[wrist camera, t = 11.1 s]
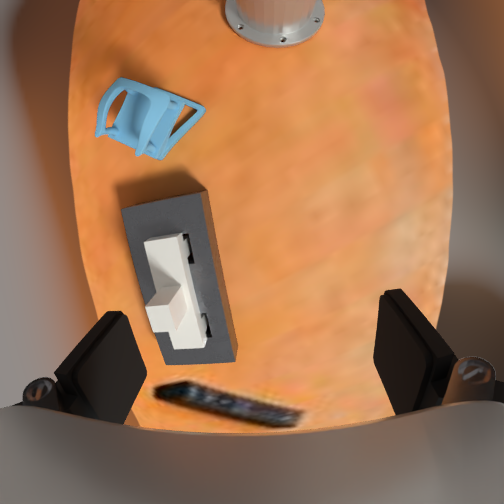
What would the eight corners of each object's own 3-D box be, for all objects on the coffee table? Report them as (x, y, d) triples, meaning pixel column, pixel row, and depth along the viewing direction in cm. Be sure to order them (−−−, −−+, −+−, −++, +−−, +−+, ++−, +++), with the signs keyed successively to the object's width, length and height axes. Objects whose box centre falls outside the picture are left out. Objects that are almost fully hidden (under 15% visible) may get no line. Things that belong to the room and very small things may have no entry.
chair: (127, 145, 34) (74, 141, 23) (155, 87, 32) (111, 61, 20) (177, 168, 35) (136, 172, 23) (207, 108, 32) (179, 84, 21)
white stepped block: (160, 231, 36) (124, 255, 26) (189, 226, 36) (161, 249, 26) (184, 327, 40) (162, 373, 30) (211, 325, 40) (195, 372, 30)
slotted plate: (134, 204, 36) (121, 209, 32) (207, 190, 35) (200, 192, 31) (173, 349, 42) (166, 365, 38) (237, 345, 41) (235, 361, 37)
